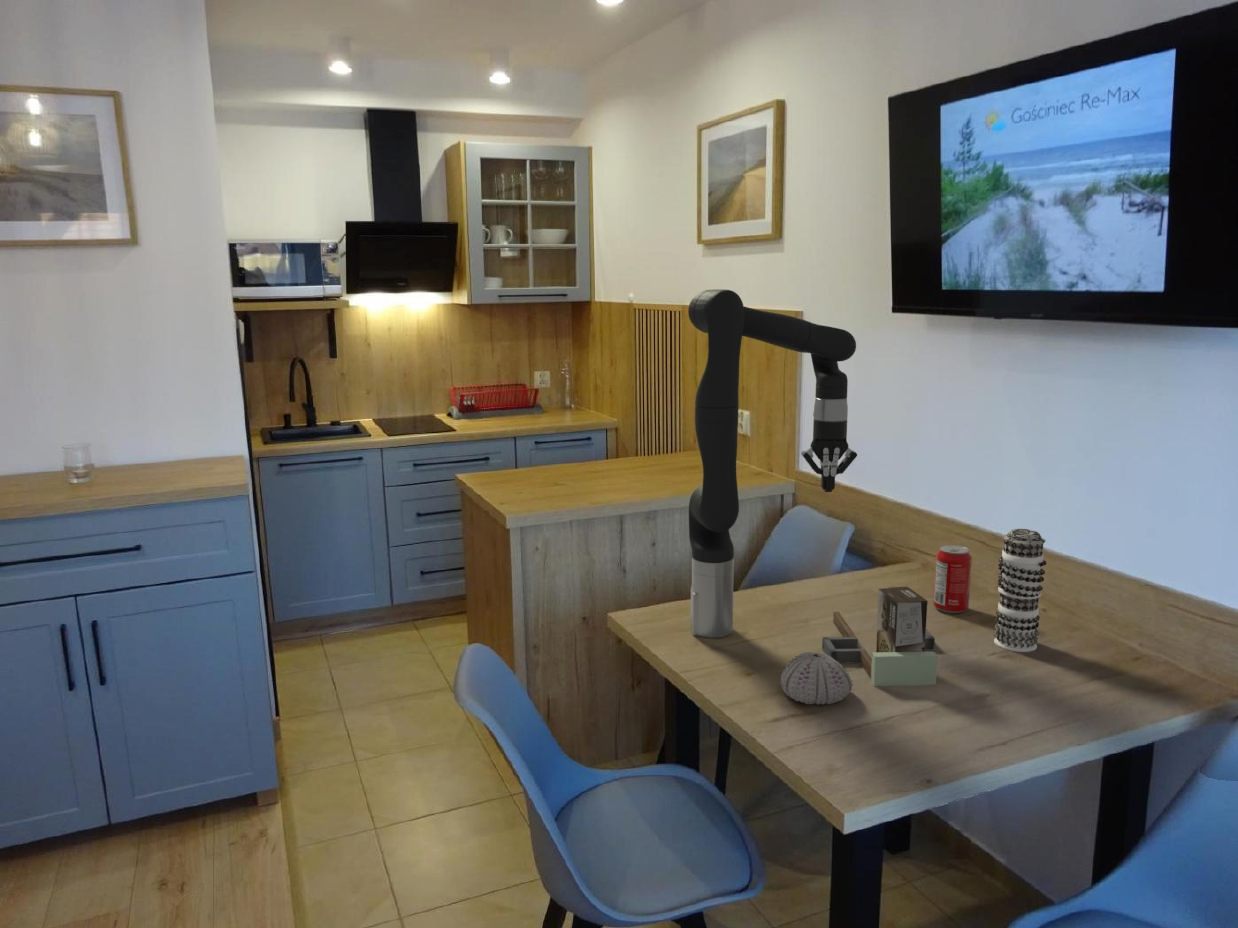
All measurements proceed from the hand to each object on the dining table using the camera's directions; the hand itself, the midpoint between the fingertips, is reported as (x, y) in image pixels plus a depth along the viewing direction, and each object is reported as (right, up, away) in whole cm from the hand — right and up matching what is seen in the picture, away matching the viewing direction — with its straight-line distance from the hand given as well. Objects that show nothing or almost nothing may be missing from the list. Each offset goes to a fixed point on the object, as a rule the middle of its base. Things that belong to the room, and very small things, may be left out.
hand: (827, 491), depth 205 cm
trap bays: (+7, -33, -18) cm, 38 cm away
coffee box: (+8, -35, -28) cm, 46 cm away
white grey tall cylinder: (+37, -32, -16) cm, 51 cm away
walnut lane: (+7, -33, -18) cm, 38 cm away
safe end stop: (+7, -36, -33) cm, 50 cm away
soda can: (+30, -28, +5) cm, 42 cm away
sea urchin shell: (-11, -38, -37) cm, 54 cm away
